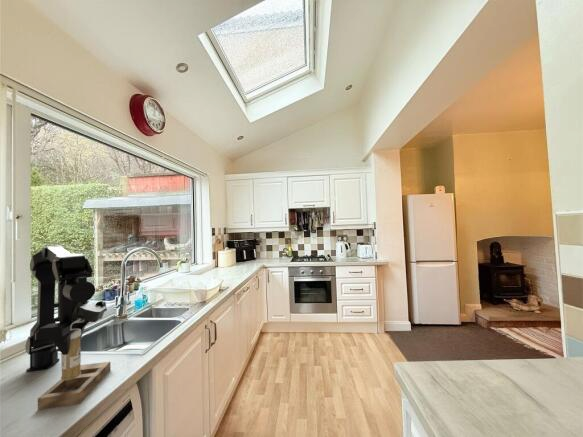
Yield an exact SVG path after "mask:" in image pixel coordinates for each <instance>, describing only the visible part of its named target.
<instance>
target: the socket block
mask: <svg viewBox="0 0 583 437" xmlns="http://www.w3.org/2000/svg"><path fill="white" fill-rule="evenodd" d="M80 369H81V370H80V371H81V374H80V375H79V376H78V377H76V378H74V379H71V380H66V381H64V380H61V378H60V379H59V380H58V381H57V382H56V383H55V384H52V386H51V387H50V388H48V389H47V390H45V392H43V394H41V395H40V396H39V397H37V411H39V410H45V409H52V408H59V407H60V408H61V407H67V406H74V405H78V404H79V405H80V404H81V403H82V402H83V401H84V399H86V397H88V395H89V394H90V393H91V392H92V391H93V390H94V389H95V388H96V387H97V386H98V385H99V384H100V383H101V381H102V380H103V379H104V378H105V377H106V376H107V375H108V374H109V373H110V372H111V361H103V362H95V363H87V364H86V363H85V364H80ZM71 389H72V390H71ZM73 389H75V390H73ZM65 390H67V391H65ZM68 390H69V391H68Z"/></svg>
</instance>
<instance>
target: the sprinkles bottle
mask: <svg viewBox="0 0 583 437" xmlns="http://www.w3.org/2000/svg"><path fill="white" fill-rule="evenodd" d="M71 330H76V331H75V332H74V333H73V334H72V335H71V337H70V345H69V351H68V354H67V355H63V354H62V353H61V352H60V353H61V354H60V355H61V357H60V358H61V359H60V361H61V362H60V363H61V377H60V379H61V380H64V381H66V380H71V379H74V378H76V377H78V376H79V375H80V374H81V371H80V370H81V369H80V365H81V362H82V361H81V359H82V358H81V357H82V354H81V352H82V351H81V350H82V349H81V340H80V337H81V329H79V328H75V329H71ZM81 338H82V337H81Z"/></svg>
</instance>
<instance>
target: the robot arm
mask: <svg viewBox="0 0 583 437" xmlns="http://www.w3.org/2000/svg"><path fill="white" fill-rule="evenodd" d="M29 262H30V263H29V270H30V272H31V275H32V276H33V277H34V278H35V279H36V280H37V308H36V309H37V310H36V311H37V312H36V322H35V323H34V324H33V326H32V327H31V329H30V332H29V336H28V337H27V340H26V343H25V345H24V346H25V353H26V354H27V355H29V367H28V368H26V370H25V371H26V372H33V371H41V370H48V369H49V368H51V367H52V366H53V365H55V364H56V363H58V362H59V361H60V358H59V355H58V354H59V352H60V353H62V354H63V355H67V354H68V351H69V345H70V337H71V335H72V334H73V333H74V332H75V331H76V330H71V329H75V328H79V329H81V337H80V341H81V339H82V336H83V333H84V331H85V328H86V327H87V326H88V324H90V323H97V322H98V321H99V320H102V319H103V316H104V314H105V312H107V311H108V309H107V304H106V301H105V300H99V301H97V302H96V303H88V302H89V301H90V300H91V299H92V298H93V297H94V296H95V293H96V287H95V285H94V283H92V282H90V281H88V279H87V278H92V276H93V268H92V266H91V263H90V261H89V260H88V258H87V257H86V255H84V253H83V254H81V253H71V252H69V251H68V250H66V249H65V247H64V246H63V245H46V246H44V247H42V248H41V250H40V251H39V252H37V253H35V254H34V255H32V256H31V259H30V261H29ZM56 282H57V302H55V301H56V299H55V298H56ZM55 308H57V316H56V317H55Z"/></svg>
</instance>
